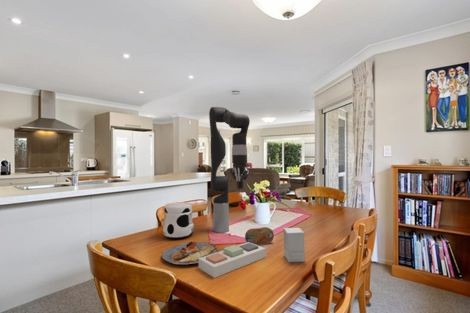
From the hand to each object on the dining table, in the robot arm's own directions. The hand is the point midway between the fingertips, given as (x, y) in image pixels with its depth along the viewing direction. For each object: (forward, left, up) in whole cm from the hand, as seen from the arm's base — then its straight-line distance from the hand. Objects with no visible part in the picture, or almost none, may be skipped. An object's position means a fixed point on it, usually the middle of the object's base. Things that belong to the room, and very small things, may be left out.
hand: (240, 188), depth 125 cm
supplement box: (+27, +7, -29) cm, 40 cm away
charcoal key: (+12, -6, -27) cm, 30 cm away
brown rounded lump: (+4, +9, -29) cm, 31 cm away
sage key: (+12, -15, -26) cm, 32 cm away
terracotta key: (+12, -24, -27) cm, 38 cm away
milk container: (-37, -15, -29) cm, 50 cm away
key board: (+12, -15, -29) cm, 35 cm away
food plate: (-7, -25, -30) cm, 39 cm away
